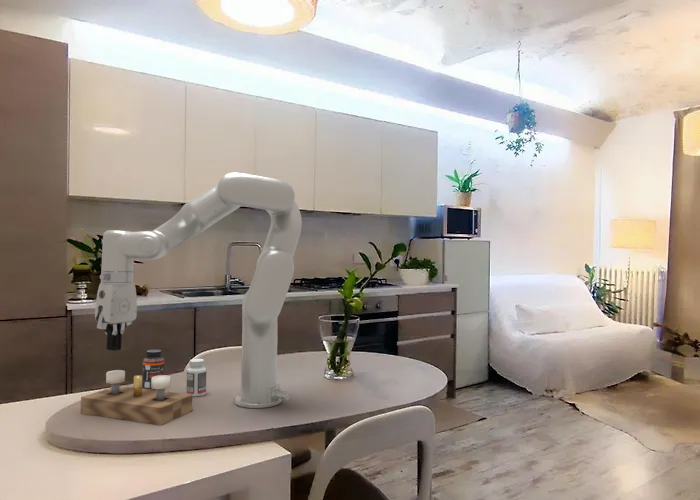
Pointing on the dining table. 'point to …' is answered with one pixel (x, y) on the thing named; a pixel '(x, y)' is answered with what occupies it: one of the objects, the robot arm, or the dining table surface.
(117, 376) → the knob far
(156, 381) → the knob near
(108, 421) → the dining table surface
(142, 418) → the mount
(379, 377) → the dining table surface
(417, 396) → the dining table surface
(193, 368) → the pill bottle
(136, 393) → the brass stem
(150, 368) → the supplement bottle
